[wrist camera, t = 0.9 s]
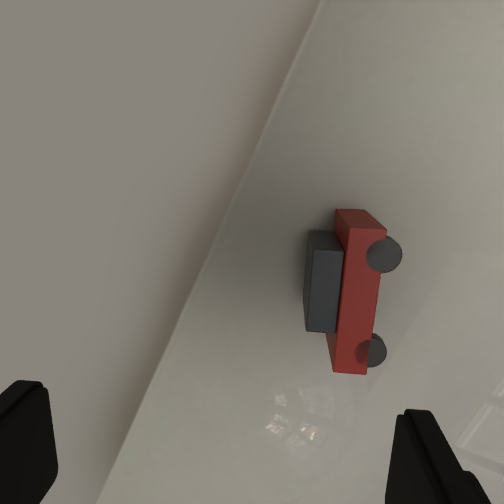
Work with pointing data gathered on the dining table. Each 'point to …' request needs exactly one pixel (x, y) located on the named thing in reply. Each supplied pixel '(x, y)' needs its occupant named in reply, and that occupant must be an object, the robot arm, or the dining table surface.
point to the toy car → (348, 287)
